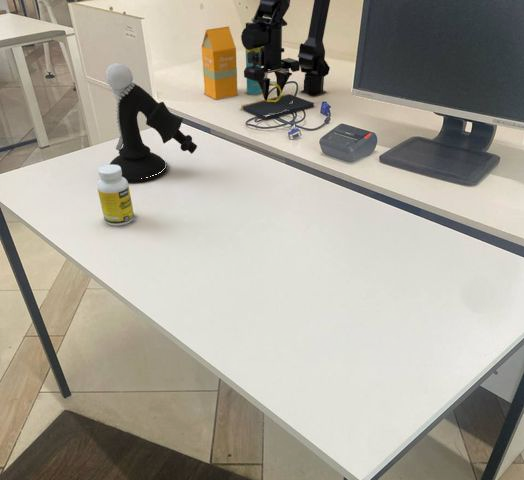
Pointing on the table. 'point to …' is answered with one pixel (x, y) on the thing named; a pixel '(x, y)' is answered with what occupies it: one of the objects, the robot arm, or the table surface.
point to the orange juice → (219, 63)
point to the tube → (252, 85)
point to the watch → (279, 89)
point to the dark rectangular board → (277, 106)
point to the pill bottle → (114, 195)
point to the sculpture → (158, 117)
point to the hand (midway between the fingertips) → (272, 98)
